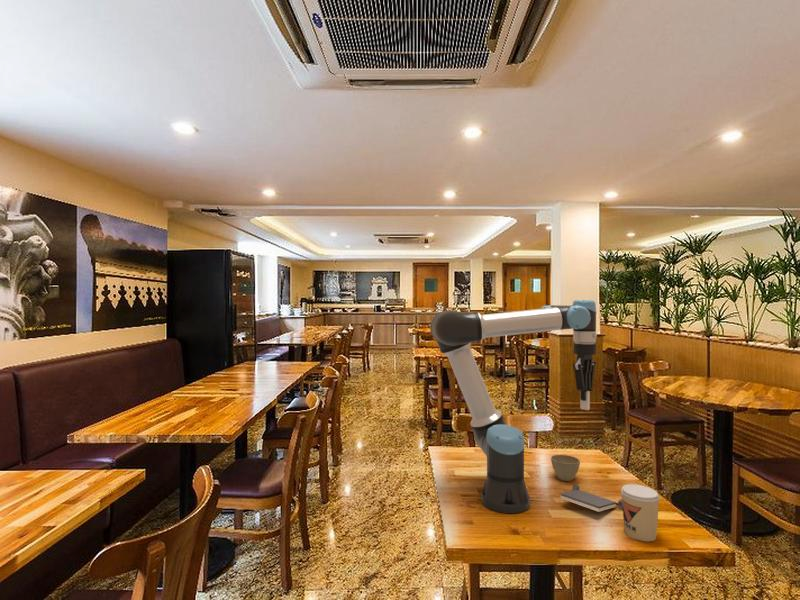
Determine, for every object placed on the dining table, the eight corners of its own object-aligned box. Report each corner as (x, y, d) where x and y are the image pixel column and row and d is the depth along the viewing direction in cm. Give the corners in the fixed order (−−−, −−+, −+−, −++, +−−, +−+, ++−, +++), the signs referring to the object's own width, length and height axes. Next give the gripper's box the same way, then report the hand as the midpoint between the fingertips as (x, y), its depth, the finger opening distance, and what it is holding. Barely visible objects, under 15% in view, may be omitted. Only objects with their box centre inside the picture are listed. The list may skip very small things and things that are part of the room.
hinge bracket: (623, 510, 134) (623, 502, 134) (572, 492, 147) (572, 485, 147) (626, 508, 136) (626, 500, 136) (575, 491, 148) (575, 484, 148)
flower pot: (584, 484, 154) (584, 464, 154) (556, 484, 154) (556, 463, 154) (573, 473, 164) (573, 454, 164) (547, 473, 164) (547, 454, 164)
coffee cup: (614, 526, 125) (614, 484, 125) (645, 524, 125) (645, 483, 126) (634, 543, 116) (633, 498, 116) (667, 542, 116) (667, 497, 116)
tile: (615, 501, 136) (615, 506, 136) (578, 489, 145) (578, 494, 145) (598, 506, 128) (598, 511, 128) (560, 493, 137) (560, 498, 137)
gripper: (586, 344, 148) (586, 414, 148) (603, 342, 157) (603, 408, 156) (565, 343, 154) (565, 410, 153) (583, 341, 162) (583, 404, 162)
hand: (585, 409), depth 155 cm, fingers closed
